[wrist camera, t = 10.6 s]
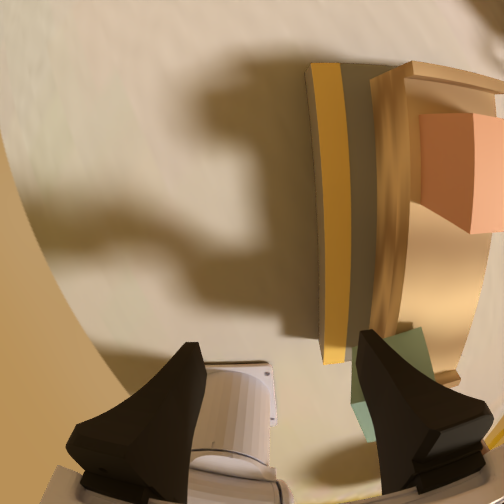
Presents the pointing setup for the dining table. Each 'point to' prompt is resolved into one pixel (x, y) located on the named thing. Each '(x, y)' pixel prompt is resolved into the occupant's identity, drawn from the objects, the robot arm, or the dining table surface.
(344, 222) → the dock
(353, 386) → the green cube
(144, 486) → the robot arm
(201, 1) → the dining table surface
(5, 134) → the dining table surface
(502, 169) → the brick block
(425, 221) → the tan piece
